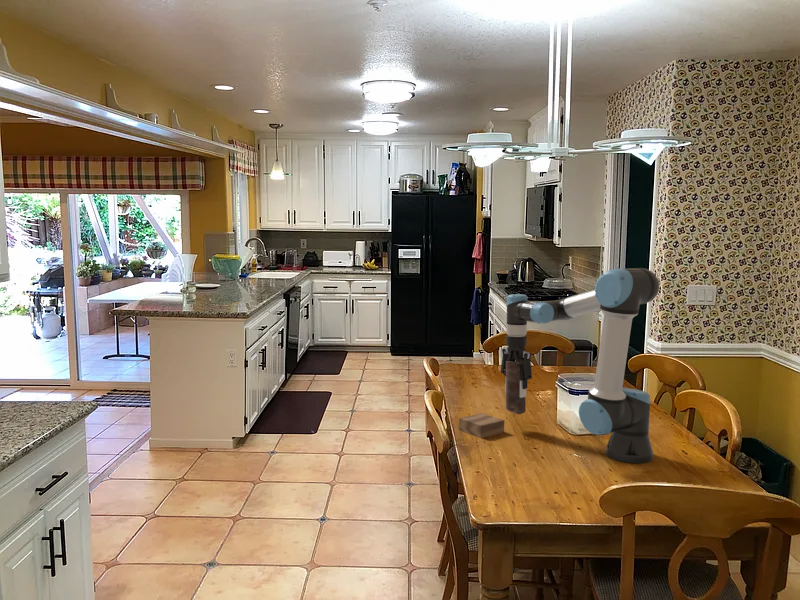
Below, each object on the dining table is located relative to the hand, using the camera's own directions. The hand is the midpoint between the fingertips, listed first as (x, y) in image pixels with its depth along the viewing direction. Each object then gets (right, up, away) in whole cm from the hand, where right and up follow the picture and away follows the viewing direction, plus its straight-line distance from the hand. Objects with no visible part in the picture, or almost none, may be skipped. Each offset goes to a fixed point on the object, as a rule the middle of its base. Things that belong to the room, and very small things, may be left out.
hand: (515, 394), depth 248 cm
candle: (0, -7, +1) cm, 7 cm away
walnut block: (-13, -14, 0) cm, 19 cm away
